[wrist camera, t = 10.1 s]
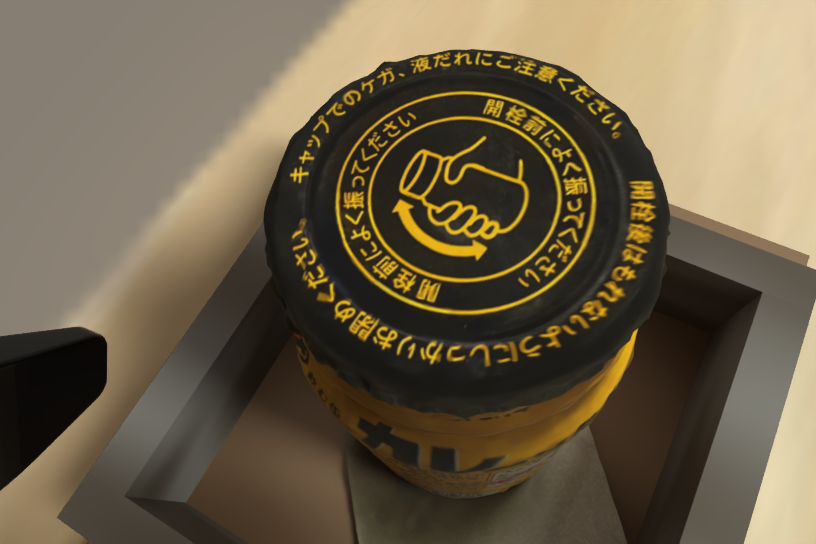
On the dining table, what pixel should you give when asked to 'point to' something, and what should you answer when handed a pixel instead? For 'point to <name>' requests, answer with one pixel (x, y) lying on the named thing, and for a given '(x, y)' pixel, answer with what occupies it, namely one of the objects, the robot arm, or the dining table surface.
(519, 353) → the condiment
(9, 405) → the robot arm
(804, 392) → the dining table surface
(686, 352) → the well caddy
